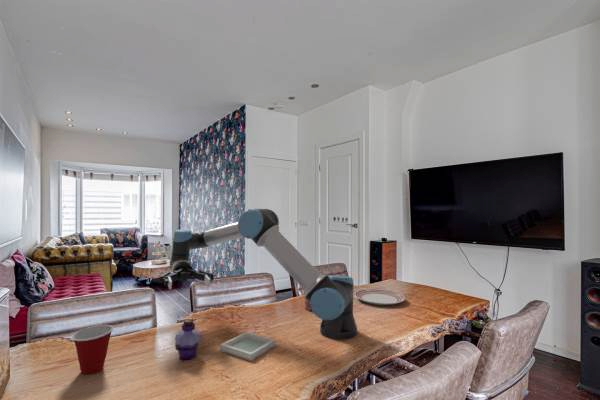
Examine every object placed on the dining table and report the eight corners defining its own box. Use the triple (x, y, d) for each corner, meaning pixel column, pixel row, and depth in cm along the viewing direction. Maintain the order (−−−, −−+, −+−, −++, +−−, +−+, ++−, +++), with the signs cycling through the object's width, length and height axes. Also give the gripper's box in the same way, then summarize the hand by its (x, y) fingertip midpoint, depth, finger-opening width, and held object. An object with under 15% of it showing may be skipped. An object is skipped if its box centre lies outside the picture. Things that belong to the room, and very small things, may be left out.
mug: (324, 310, 159) (325, 283, 160) (308, 312, 156) (308, 285, 156) (313, 303, 171) (314, 278, 171) (298, 305, 167) (298, 279, 168)
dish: (275, 346, 117) (275, 339, 117) (250, 361, 105) (251, 354, 105) (246, 337, 124) (246, 331, 124) (220, 350, 112) (220, 344, 112)
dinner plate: (411, 308, 166) (412, 302, 166) (359, 307, 166) (359, 301, 166) (396, 294, 193) (396, 289, 193) (351, 294, 193) (351, 288, 193)
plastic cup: (69, 368, 99) (70, 328, 99) (109, 358, 105) (110, 321, 106) (70, 383, 90) (72, 340, 90) (114, 372, 97) (115, 332, 97)
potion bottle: (170, 355, 109) (171, 319, 109) (195, 348, 114) (196, 314, 114) (178, 365, 102) (179, 327, 102) (204, 357, 107) (205, 321, 107)
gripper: (211, 277, 142) (223, 291, 123) (149, 280, 130) (152, 297, 111) (212, 260, 142) (224, 272, 123) (150, 262, 130) (153, 275, 111)
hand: (190, 284), depth 117 cm, fingers open, 13 cm apart
